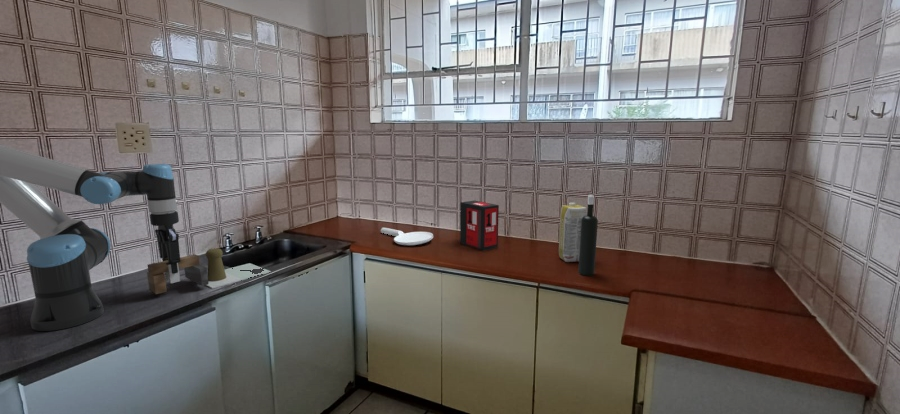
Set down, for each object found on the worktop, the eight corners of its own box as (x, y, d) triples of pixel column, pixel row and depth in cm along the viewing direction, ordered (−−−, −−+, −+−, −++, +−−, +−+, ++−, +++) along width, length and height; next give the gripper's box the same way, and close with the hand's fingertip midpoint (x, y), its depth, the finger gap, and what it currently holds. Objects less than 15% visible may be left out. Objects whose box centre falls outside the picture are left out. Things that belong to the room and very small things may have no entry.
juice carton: (577, 256, 176) (580, 201, 171) (585, 261, 168) (589, 204, 164) (556, 257, 174) (559, 202, 170) (564, 263, 166) (567, 205, 162)
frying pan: (368, 240, 210) (367, 231, 209) (398, 231, 223) (397, 223, 222) (411, 250, 185) (410, 241, 184) (441, 240, 198) (440, 231, 197)
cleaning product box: (460, 243, 196) (460, 202, 193) (474, 240, 202) (474, 200, 198) (483, 250, 184) (484, 207, 180) (497, 247, 189) (498, 205, 186)
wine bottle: (579, 270, 158) (583, 193, 153) (594, 271, 156) (599, 194, 150) (577, 274, 153) (582, 195, 147) (593, 276, 151) (599, 196, 145)
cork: (217, 282, 144) (214, 252, 142) (203, 280, 145) (199, 251, 143) (230, 276, 150) (227, 247, 148) (216, 275, 151) (213, 246, 149)
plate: (212, 288, 139) (212, 287, 139) (192, 278, 148) (192, 277, 148) (270, 272, 155) (270, 271, 155) (249, 264, 165) (249, 263, 165)
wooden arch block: (160, 297, 128) (156, 269, 126) (145, 287, 136) (141, 261, 134) (208, 284, 138) (205, 258, 137) (191, 275, 147) (188, 251, 145)
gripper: (186, 212, 130) (195, 282, 134) (167, 207, 140) (176, 272, 144) (159, 216, 124) (169, 289, 128) (141, 210, 134) (151, 278, 138)
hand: (173, 280), depth 136 cm, fingers closed on wooden arch block, 3 cm apart
